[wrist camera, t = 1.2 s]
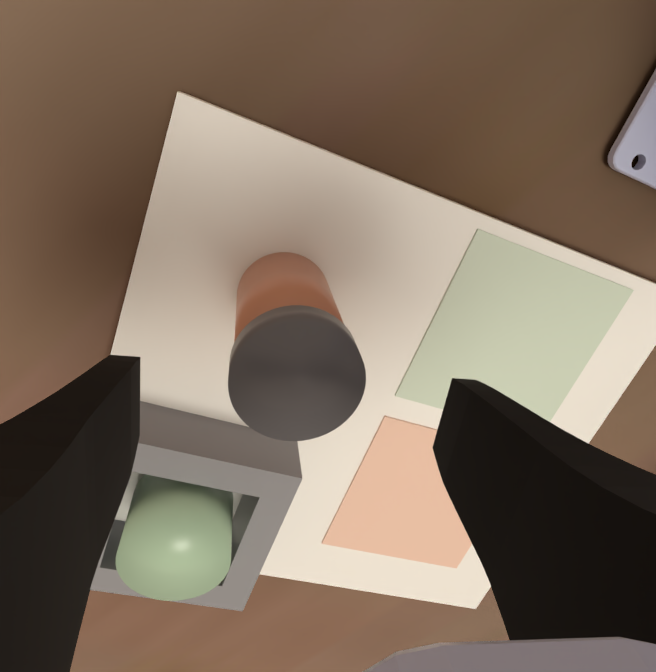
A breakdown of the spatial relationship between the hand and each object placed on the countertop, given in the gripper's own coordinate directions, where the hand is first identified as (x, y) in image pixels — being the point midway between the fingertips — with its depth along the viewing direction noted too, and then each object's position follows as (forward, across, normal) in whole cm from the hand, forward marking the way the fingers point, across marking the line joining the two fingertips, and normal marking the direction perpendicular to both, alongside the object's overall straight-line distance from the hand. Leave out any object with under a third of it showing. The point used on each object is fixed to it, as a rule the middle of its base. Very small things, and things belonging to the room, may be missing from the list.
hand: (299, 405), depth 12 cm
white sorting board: (+8, -4, +5) cm, 10 cm away
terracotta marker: (+7, 0, 0) cm, 7 cm away
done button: (+6, +3, +9) cm, 11 cm away
